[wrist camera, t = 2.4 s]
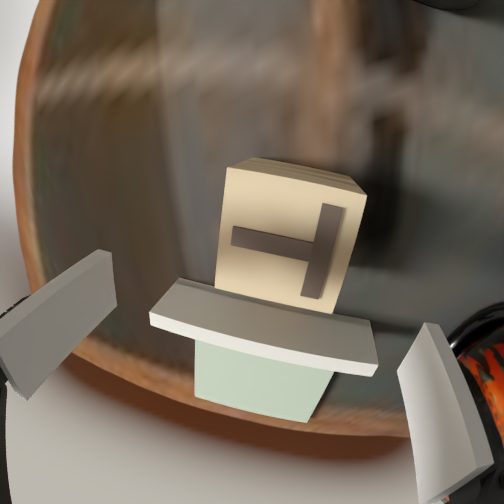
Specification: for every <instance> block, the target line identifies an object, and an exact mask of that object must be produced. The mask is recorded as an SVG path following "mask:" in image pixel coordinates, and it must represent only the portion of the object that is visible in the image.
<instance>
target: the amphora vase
mask: <svg viewBox="0 0 504 504" xmlns="http://www.w3.org/2000/svg"><path fill="white" fill-rule="evenodd" d="M447 341H448V343H449V345H450V347H451V349H452V352H453V354H454V356H455V358H456V360H457V362H458V364H459V367H460V369H461V371H462V373H463V375H464V378H465V380H466V382H467V385H468V387H469V390H470V392H471V395H472V397H476V398H477V400H478V401H479V402H480V404H481V405H482V406H483V408H484V411H485V413H486V416H487V421H488V422H489V424H490V430H492V433H493V436H494V439H495V443H496V446H497V449H498V452H499V456H500V460H501V462H502V464H504V305H501V306H495V307H491V308H488V309H486V310H484V311H482V312H479V313H477V314H476V315H474V316H473V317H471V318H470V319H468V320H467V321H465V322H464V323H462V324H461V325H460V326H459V327H458V328H457V329H456V330H455V331H454V332H452V333H451V334H450V335H449V336H448V338H447ZM441 501H442V502H443V503H446V502H448V501H449V495H448V496H446V497H445V498H443V499H441Z"/></svg>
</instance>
